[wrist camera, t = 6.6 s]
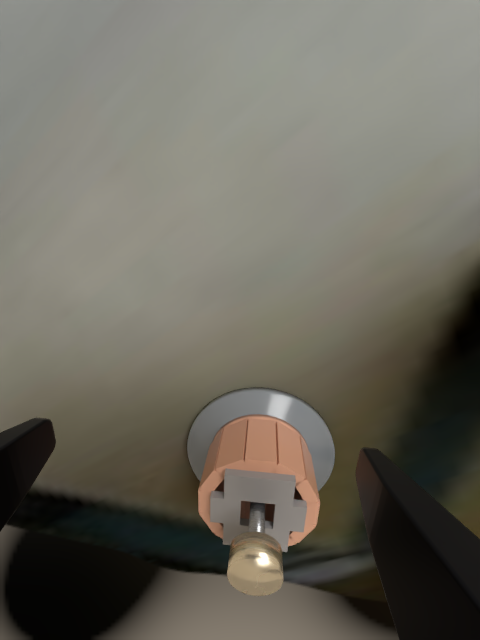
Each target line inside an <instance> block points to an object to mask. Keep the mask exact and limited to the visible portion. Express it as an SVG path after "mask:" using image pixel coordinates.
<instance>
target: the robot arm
mask: <svg viewBox="0 0 480 640" xmlns="http://www.w3.org/2000/svg"><path fill="white" fill-rule="evenodd" d="M55 444H56V440H55V435H54V430H53V425H52V422H51V420H50V419H46V418H34V419H31V420H29V421H26V422H24V423H22V424H19V425H17V426H15V427H12V428H10V429H8V430H5V431H3V432H1V433H0V531H1V530H2V528H3V527H4V526H5V524H6V523H7V522H8V520H9V519H10V517H11V516H12V515H13V513H14V512H15V511H16V509H17V508H18V506H19V505H20V503H21V502H22V501H23V499H24V497H25V496H26V494H27V493H28V491H29V489H30V488H31V486H32V485H33V483H34V481H35V480H36V478H37V476H38V475H39V473H40V471H41V470H42V468H43V467H44V465H45V463H46V462H47V460H48V458H49V457H50V455H51V453H52V452H53V450H54V448H55ZM356 481H357V486H358V491H359V495H360V500H361V505H362V510H363V515H364V520H365V525H366V529H367V534H368V538H369V542H370V546H371V549H372V553H373V556H374V559H375V562H376V566H377V569H378V572H379V575H380V579H381V582H382V585H383V588H384V591H385V595H386V598H387V601H388V604H389V608H390V611H391V614H392V617H393V620H394V624H395V627H396V630H397V633H398V637H399V640H480V539H479V538H478V537H477V536H476V535H475V534H473V533H472V532H471V531H470V530H469V529H468V528H467V527H465V526H464V525H463V524H462V523H461V522H460V521H459V520H458V519H456V518H455V517H454V516H453V515H452V514H451V513H450V512H448V511H447V510H446V509H445V508H444V507H443V506H442V505H441V504H439V503H438V502H437V501H436V500H435V499H434V498H433V497H432V496H430V495H429V494H428V493H427V492H426V491H425V490H424V489H422V488H421V487H420V486H419V485H418V484H417V483H416V482H415V481H413V480H412V479H411V478H410V477H409V476H408V475H407V474H406V473H404V472H403V471H402V470H401V469H400V468H399V467H398V466H396V465H395V464H394V463H393V462H392V461H391V460H390V459H389V458H387V457H386V456H385V455H384V454H383V453H382V452H381V451H379V450H378V449H375V448H366V447H363V448H362V449H361V450H360V453H359V458H358V463H357V468H356Z"/></svg>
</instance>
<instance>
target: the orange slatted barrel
mask: <svg viewBox="0 0 480 640" xmlns="http://www.w3.org/2000/svg"><path fill="white" fill-rule="evenodd" d="M250 502H258V503H265V534H268V535H270V536H272V537H273V538H274V539H276V540H277V541H278V543H279V544H280V546H281V548H282V551H284V552H287V549H288V546H291V545H294V544H296V542H297V543H299V542H300V541H301V540H302V539H303V538H304V537H305V536H306V535H307V534H308V533H310V532H311V531H312V530H313V529H314V528H315V527H316V526H315V525H317V519H318V513H319V507H320V500H319V494H318V489H317V484H316V478H315V473H314V468H313V462H312V457H311V454H310V452H309V449H308V446H307V443H306V441H305V439H304V438H303V436H302V435H301V433H300V432H299V431H298V430H297V429H296V428H295V427H293V426H292V425H291V424H289V423H288V422H286V421H284V420H282V419H279V418H277V417H273V416H269V415H262V414H253V415H245V416H241V417H238V418H235V419H233V420H231V421H229V422H228V423H226V424H225V425H224V426H222V427H221V428H220V430H219V431H218V432H217V433H216V435H215V437H214V439H213V441H212V443H211V445H210V447H209V451H208V454H207V458H206V462H205V466H204V470H203V474H202V478H201V482H200V485H199V489H198V506H199V514H200V516H201V517H202V518H203V520H204V521H205V523H206V524H207V525H208V527H209V528H210V529H211V531H212V532H213V533H215V535H217V536H219V537H221V538H222V539H223V544H225V545H231V542H232V540H233V539H234V538H235V537H236V536H238V535H240V534H242V533H245V532H248V531H249V515H250Z"/></svg>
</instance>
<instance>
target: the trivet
mask: <svg viewBox="0 0 480 640" xmlns="http://www.w3.org/2000/svg"><path fill="white" fill-rule="evenodd" d="M253 414H262V415H269V416H273V417H277V418H279V419H282V420H284V421H286V422H288V423H289V424H291V425H292V426H293V427H295V428H296V429H297V430H298V431H299V432H300V433H301V435H302V436H303V438H304V439H305V441H306V443H307V446H308V449H309V452H310V454H311V457H312V462H313V468H314V473H315V478H316V484H317V489H318V491H319V490H320V489H321V488H322V487H323V486H324V484H325V483H326V481H327V480H328V478H329V477H330V474H331V472H332V469H333V466H334V460H335V449H334V444H333V440H332V436H331V433H330V431H329V428H328V426H327V424H326V423H325V421H324V420H323V418H322V417H321V416H320V415H319V413H318V412H317V411H316V410H315V409H314V408H312V407H311V406H310V405H309V404H307V403H306V402H305V401H303V400H301V399H300V398H298V397H296V396H294V395H291V394H289V393H286V392H283V391H279V390H275V389H269V388H244V389H239V390H234V391H231V392H228V393H225V394H223V395H221V396H219V397H217V398H216V399H214V400H213V401H211V402H210V403H209V404H207V405H206V406H205V407H204V408H203V409H202V410H201V412H200V413H199V414H198V415H197V417H196V419H195V420H194V422H193V425H192V427H191V430H190V433H189V437H188V441H187V452H188V458H189V462H190V465H191V467H192V470H193V472H194V473H195V475H196V477H197V478H198V479H199V481H200V482H201V478H202V474H203V470H204V466H205V462H206V458H207V454H208V451H209V447H210V445H211V443H212V441H213V439H214V437H215V435H216V433H217V432H218V431H219V430H220V428H221V427H222V426H224V425H225V424H226V423H228V422H229V421H231V420H233V419H235V418H238V417H241V416H245V415H253Z"/></svg>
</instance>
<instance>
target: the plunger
mask: <svg viewBox="0 0 480 640" xmlns="http://www.w3.org/2000/svg"><path fill="white" fill-rule="evenodd" d="M227 577H228V580H229V582H230V583H231V585H232V586H233V587H234V588H235V589H237V590H238V591H240V592H242V593H245V594H248V595H253V596H265V595H270V594H272V593H274V592H276V591H277V590H279V589H280V587H281V586H282V584H283V565H282V548H281V546H280V544H279V543H278V541H277V540H276V539H274V538H273V537H272V536H270V535H268V534H265V503H258V502H250V515H249V531H248V532H245V533H242V534H240V535H238V536H236V537H235V538H234V539H233V540H232V542H231V546H230V554H229V563H228V572H227Z"/></svg>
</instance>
